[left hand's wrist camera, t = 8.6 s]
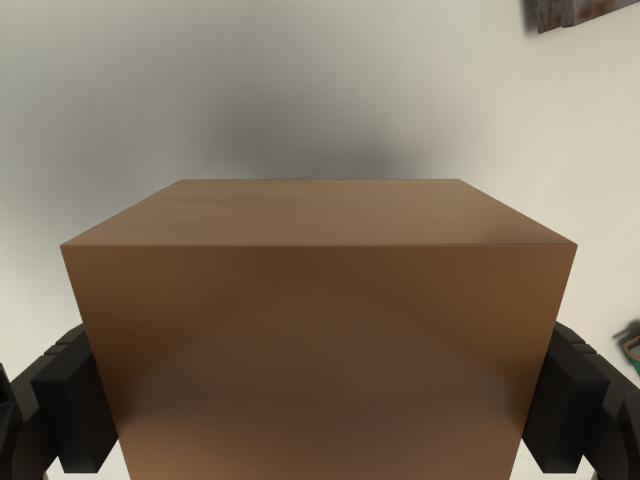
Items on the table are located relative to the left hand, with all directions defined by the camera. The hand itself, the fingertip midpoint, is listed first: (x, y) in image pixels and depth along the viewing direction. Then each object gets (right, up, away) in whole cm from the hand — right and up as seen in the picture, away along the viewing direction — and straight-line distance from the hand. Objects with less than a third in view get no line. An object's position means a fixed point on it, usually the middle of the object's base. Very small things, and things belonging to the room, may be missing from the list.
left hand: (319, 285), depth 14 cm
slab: (0, -30, +13) cm, 32 cm away
